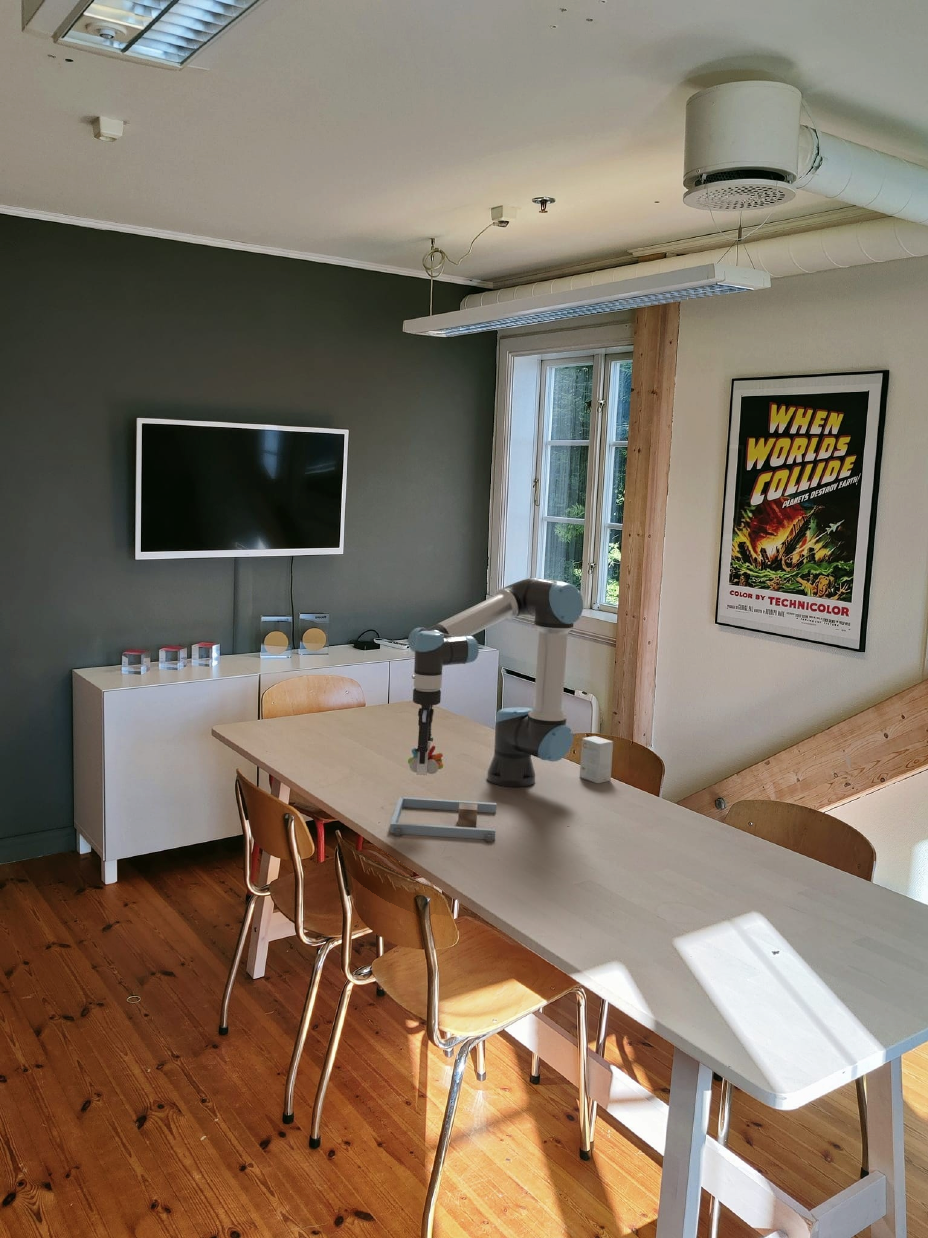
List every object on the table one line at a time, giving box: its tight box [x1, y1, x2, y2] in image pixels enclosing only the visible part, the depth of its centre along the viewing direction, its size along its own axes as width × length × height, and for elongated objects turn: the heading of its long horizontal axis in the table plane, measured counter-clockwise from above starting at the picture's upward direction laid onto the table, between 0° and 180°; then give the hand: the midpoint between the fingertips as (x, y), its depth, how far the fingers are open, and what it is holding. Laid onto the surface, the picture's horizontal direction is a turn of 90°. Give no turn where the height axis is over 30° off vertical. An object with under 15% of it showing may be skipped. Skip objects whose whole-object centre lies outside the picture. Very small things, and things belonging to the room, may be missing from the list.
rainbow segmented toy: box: [407, 745, 444, 775], centre depth 275 cm, size 8×10×7 cm
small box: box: [579, 735, 614, 784], centre depth 323 cm, size 8×6×13 cm
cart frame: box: [389, 796, 497, 844], centre depth 277 cm, size 28×27×2 cm
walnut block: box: [457, 803, 478, 828], centre depth 277 cm, size 5×5×5 cm
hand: (423, 769), depth 276 cm, fingers closed on rainbow segmented toy, 9 cm apart
